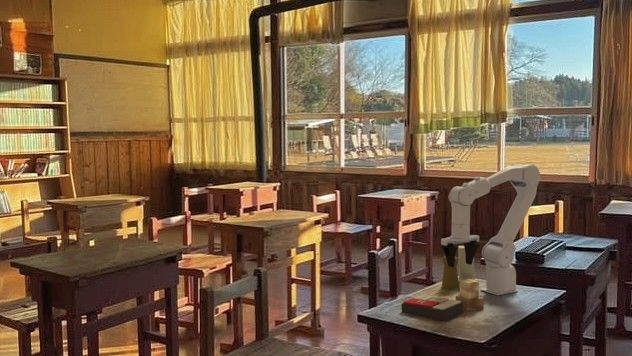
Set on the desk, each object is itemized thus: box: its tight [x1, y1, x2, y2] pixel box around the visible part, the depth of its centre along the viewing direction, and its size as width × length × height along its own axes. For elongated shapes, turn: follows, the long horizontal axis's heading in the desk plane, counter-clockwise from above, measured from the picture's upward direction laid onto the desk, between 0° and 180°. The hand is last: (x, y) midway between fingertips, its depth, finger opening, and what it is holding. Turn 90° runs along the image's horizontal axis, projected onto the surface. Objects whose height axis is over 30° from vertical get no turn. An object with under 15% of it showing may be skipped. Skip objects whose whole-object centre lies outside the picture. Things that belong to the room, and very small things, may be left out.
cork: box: [441, 255, 460, 290], centre depth 209 cm, size 6×6×11 cm
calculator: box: [400, 294, 464, 323], centre depth 181 cm, size 11×4×15 cm
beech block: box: [459, 279, 480, 299], centre depth 185 cm, size 4×4×5 cm
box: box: [457, 245, 476, 283], centre depth 215 cm, size 5×4×13 cm
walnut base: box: [454, 294, 485, 312], centre depth 186 cm, size 6×6×4 cm
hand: (460, 265), depth 197 cm, fingers open, 7 cm apart
